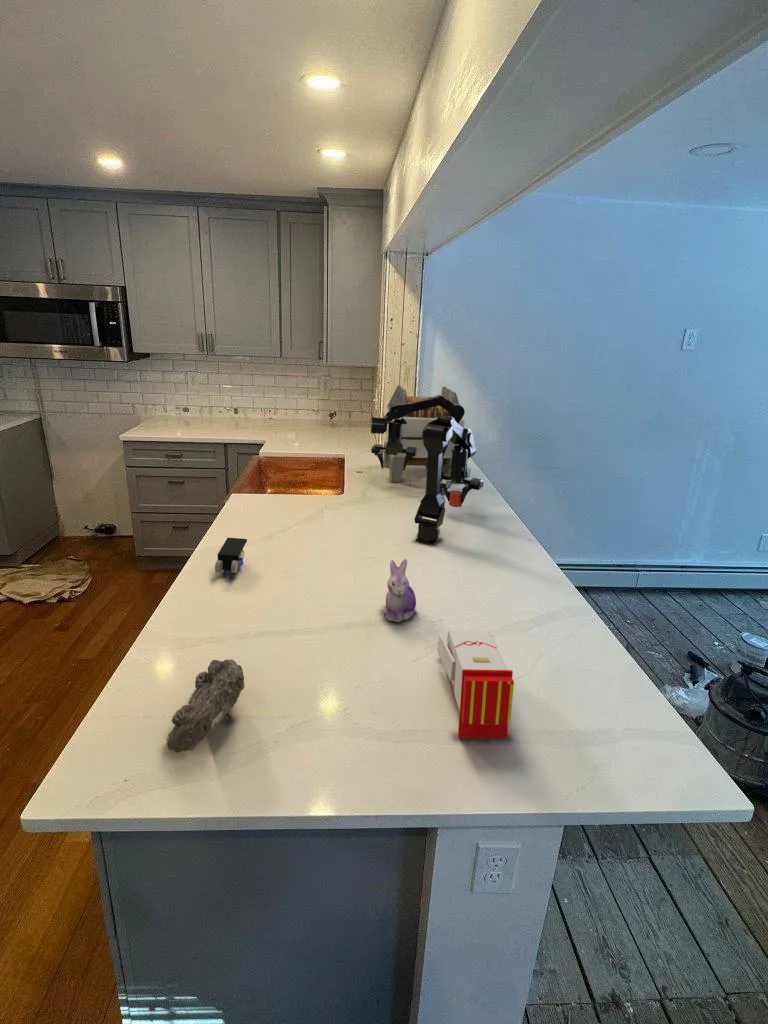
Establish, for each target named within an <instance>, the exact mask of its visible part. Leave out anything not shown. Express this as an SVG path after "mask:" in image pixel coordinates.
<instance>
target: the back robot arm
mask: <svg viewBox="0 0 768 1024" xmlns="http://www.w3.org/2000/svg"><path fill="white" fill-rule="evenodd" d="M429 397H430V398H426V399H422V400H418V401H414V402H409V403H393V404H391V405H390V407H389V411H388V413H387V414H386V413H385V414H384V416H383V417H377V416H371V420H370V421H371V423H370V434H376V435H378V434H379V435H380V434H381V435H384V434H385V433H386V431H387V424H389V427H388V441H387V444H386V447H384V444H379V443H374V444H373V445H372V446H371V451H370V452H371V454H374V456H376V457H377V458H378V461H379V465H380V468H381V470H384V467H385V466H384V452H386V454H387V455H397V454H398V453H406V456H405V461H404V467H403V472H405V470H406V467H407V463H408V460H409V458H412V457H415V456H416V454H417V449H416V447H407V449H403V444H401V439H402V424H407V422H406V421H405V420H404V418H402V417H404V416H406V415H408V414H410V413H412V412H415V411H419V410H423V409H427V408H431V407H436V406H441V407H442V408H444V409H445V410H447V411H448V413H447V416H450V417H453V418H454V419H455V421H456V422H457V423H459V422H460V421H461V419H464V417H465V413H466V411H465V408H464V407H463V406H462V405H461V404H460V403H459V404H458V403H452V402H450V401H449V400H447V399H445V398H444V397H443V396H442V395H441V394H436V395H435V396H429ZM399 418H402V419H399ZM392 420H394V421H392ZM449 441H450V440H449ZM449 441H448V444H449ZM447 446H448V445H447ZM446 449H447V447H446V448H445V449H444V451H443V453H442V461H443V456H444V454H445V451H446ZM427 460H428V458H427ZM425 465H426V466H424V467H425V470H426V471H427V461H426V463H425ZM441 472H442V471H441ZM444 493H445V492H444V490H443V488H442V486H441V485H440V494H441V496H442V495H444Z"/></svg>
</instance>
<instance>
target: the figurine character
mask: <svg viewBox="0 0 768 1024" xmlns="http://www.w3.org/2000/svg"><path fill="white" fill-rule="evenodd" d="M247 542H248V538H240V537H226V539H225V541H224V543H223V544H222V546H221V547H220V549H219V551H218V552H217V560H216V562H215V564H214V572H215V573H221V577H222V578H224V577H225V576H226V574H227V573H230V574H231V573H232V574H231V578H234V577H235V575H236V573H237V572H239V571H240V567H242V566H243V565H244V564H245V562H244V558H245V551H244V547H245V546H246V544H247Z"/></svg>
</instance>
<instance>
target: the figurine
mask: <svg viewBox="0 0 768 1024" xmlns="http://www.w3.org/2000/svg"><path fill="white" fill-rule="evenodd" d="M407 567H408V559H406V558H404V559H403V560H402V561H401V563H400V565H399V566H398V565H397V563H396V562H395V561H394V560H393V559H391V560H390V561H389V570H390V576H389V578H388V579H387V589H388V591H387V592H386V594H385V595H386V596H385V607H384V615H385V616H386V620H387V621H391V622H395V623H400V622H402V621H406V620H409V619H410V618H411V617H413V616H414V615H415V610H416V606H417V597H416V593H415V591H414V590H413V587H411V586H410V582H409V579H408V577H407V574H406V571H407Z"/></svg>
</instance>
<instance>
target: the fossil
mask: <svg viewBox="0 0 768 1024" xmlns="http://www.w3.org/2000/svg"><path fill="white" fill-rule="evenodd" d="M243 670H244V669H243V667H242V665H240V664H237V662H236V661H235V660H234V659H232V658H231V659H227V658H226V659H224V660H223V661H222V660H217V659H212V660H211V661H210V663H209V665H208V666H207V671H201V672H199V673H198V674H197V675H196V676H195V680H194V684H195V685H194V687H195V689H194V690H193V693H192V694H191V697H190V698H189V700H188V704H184V705H182V706H181V707H180V709H177V710H176V711H175V713H174V715H173V716H172V718H171V723H172V724H173V727H172V730H171V731H170V732H168V734H167V738H166V741H167V742H166V745H167V749H168V750H169V751H173V752H174V753H176V754H178V753H182V752H188V751H189V752H192V751H193V750H195V748H196V747H197V746H199V744H200V743H201V742H203V741H204V740H205V739H206V738H207V737H208V736H209V735H210V734H211V733H212V732H214V730H215V729H217V727H218V726H219V724H220V722H221V721H222V720H223V719H224V718H225V716H226V717H227V719H229V720H233V717H232V715H230V714H229V710H230V709H231V708H234V706H235V704H236V703H237V702H238V699H239V697H240V695H241V693H242V691H243V690H245V689H244V688H245V675H244V671H243Z"/></svg>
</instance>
